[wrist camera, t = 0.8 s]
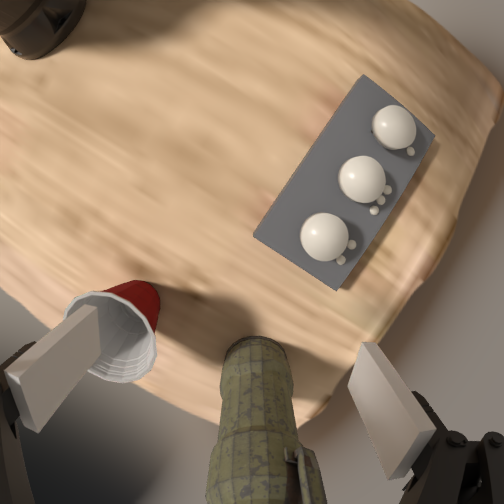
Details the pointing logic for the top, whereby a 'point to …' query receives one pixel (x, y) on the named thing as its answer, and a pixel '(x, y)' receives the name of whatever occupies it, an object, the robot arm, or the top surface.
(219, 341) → the top surface
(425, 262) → the top surface
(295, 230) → the button panel
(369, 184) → the button three dots
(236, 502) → the thermos
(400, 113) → the button one dot
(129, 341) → the plastic cup
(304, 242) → the button two dots
